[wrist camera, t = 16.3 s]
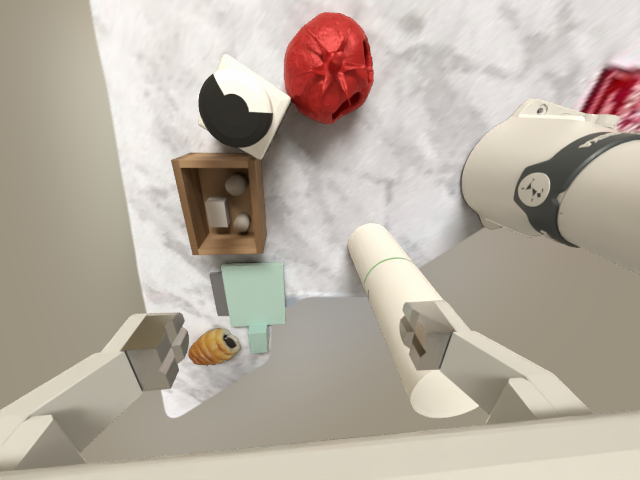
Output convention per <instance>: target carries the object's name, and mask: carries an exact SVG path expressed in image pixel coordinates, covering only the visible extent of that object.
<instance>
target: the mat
mask: <svg viewBox="0 0 640 480" xmlns="http://www.w3.org/2000/svg"><path fill="white" fill-rule="evenodd" d="M210 279H211V284H212V289H213V294H214V299H215V304H216V309H217V314H218V316H219V315H229V311H228V305H227V300H226V294H225V288H224V282H223V277H222V272H217V273H210Z"/></svg>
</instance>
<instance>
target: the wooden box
mask: <svg viewBox="0 0 640 480" xmlns="http://www.w3.org/2000/svg"><path fill="white" fill-rule="evenodd" d="M171 162H172V166H173V171H174V175H175V179H176V184H177V188H178V193H179V197H180V201H181V206H182V210H183V215H184V219H185V223H186V228H187V232H188V236H189V241H190V245H191V250H192V254H193V255H217V254H256V253H263V250H264V245H265V240H266V236H267V231H266V217H265V204H264V191H263V178H262V165H261V159H257V158H255V157H254V156H252V155H250V154H248V153H189V154H186V155H183V156H181V157H178V158H176V159H173V160H171Z"/></svg>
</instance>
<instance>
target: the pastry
mask: <svg viewBox="0 0 640 480" xmlns="http://www.w3.org/2000/svg"><path fill="white" fill-rule="evenodd" d="M240 349H241V345H240V343H239V341H238V339H237V338H236V337H235V336H233V335H232V334H230V332H229V331H228V330H226V329H220V328H216V329H212V330H210V331H208V332H206V333H205V334H204V335H202V336H201V337H200V338H199V339H198V340H197V341H196V342H195V343H194V344H193V345H192V346H191V348H190V350H189V354H188V355H189V358H190V359H191V360H192V361H193V363H194V364H198V365H209V364H212V365H215V364H216V363H219V364H220V363H222V362H223V361H224V360H230V359H231V358H232V357H233V355H234V354H236V353H237V352H238V351H239V350H240Z"/></svg>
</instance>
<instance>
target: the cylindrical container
mask: <svg viewBox="0 0 640 480" xmlns="http://www.w3.org/2000/svg"><path fill="white" fill-rule="evenodd" d="M348 250H349V253H350V255H351V258H352V260H353V262H354V265H355V267H356V270H357V272H358V275H359V277H360V280H361V282H362V285H363V287H364V289H365V292H366V294H367V297H368V299H369V302H370V304H371V307H372V309H373V312H374V314H375V316H376V319H377V321H378V324H379V326H380V329H381V331H382V334H383V336H384V339H385V341H386V343H387V346H388V348H389V351H390V353H391V356H392V358H393V361H394V363H395V365H396V368H397V370H398V373H399V375H400V377H401V380H402V383H403V385H404V388H405V390H406V393H407V395H408V397H409V400H410V402H411V405H412V407H413V409H414V410H415V411H416V412H418V413H419V414H421V415H424V416H427V417H433V418H445V417H453V416H457V415H460V414H463V413H466V412H468V411H471V410H473V409H475V408H477V407H478V406H479V405H478V404H477V403H476V402H475V401H473V400H472V399H471V398H470V397H469V396H468V395H467V394H465V393H464V392H463V391H462V390H461V389H460V388H459V387H457V386H456V385H455V384H454V383H453V382H452V381H451V380H449V379H448V378H447V377H446V376H445V375H444V374H443V373H441V372H440V370H420V371H417V370H416V368H415V366H414V364H413V362H412V360H411V358H410V356H409V352H410V349H409V348H408V347H407V346H405V345H404V344H403V341H402V339H401V336H400V330H399V324H400V319H401V318H402V317H403V316H404V313H403V311H402V309H403V305H404V304H405V302H421V301H434V300H443V299H442V298H441V297H440V295H439V294H438V293H437V292H436V290H435V289H434V288H433V287H432V285H431V284H430V283H429V282H428V281H427V279H426V278H425V277H424V275H423V274H422V273H421V272H420V271H419V269H418V268H417V267H416V266H415V264H414V263H413V262H412V261H411V259H410V258H409V257H408V256H407V254H406V253H405V252H404V251H403V249H402V248H401V247H400V246H399V244H398V243H397V242H396V241H395V240H394V238H393V237H392V236H391V235H390V233H389V232H388V231H387V230H386V229H385V228H384V227H383V226H381V225H378V224H373V223H372V224H365V225H362V226H360V227H359V228H357V229H356V230H355V231H354V232H353V233H352V234H351V236H350V238H349V241H348Z"/></svg>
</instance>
